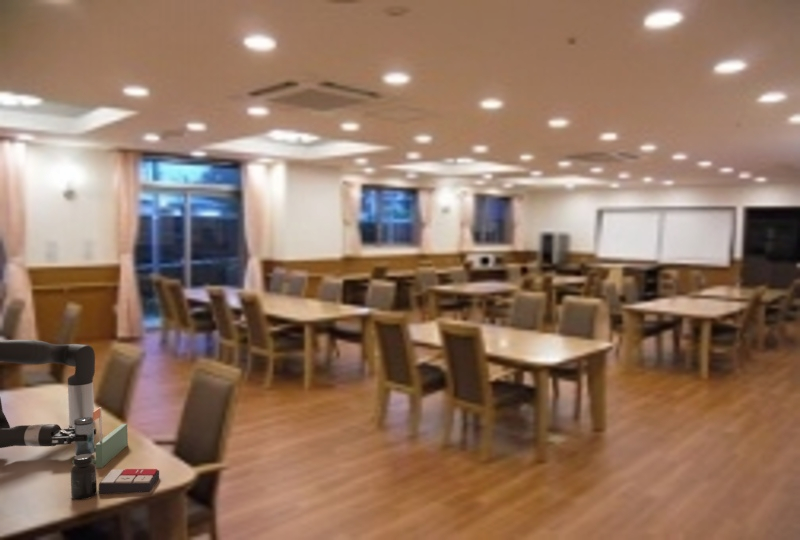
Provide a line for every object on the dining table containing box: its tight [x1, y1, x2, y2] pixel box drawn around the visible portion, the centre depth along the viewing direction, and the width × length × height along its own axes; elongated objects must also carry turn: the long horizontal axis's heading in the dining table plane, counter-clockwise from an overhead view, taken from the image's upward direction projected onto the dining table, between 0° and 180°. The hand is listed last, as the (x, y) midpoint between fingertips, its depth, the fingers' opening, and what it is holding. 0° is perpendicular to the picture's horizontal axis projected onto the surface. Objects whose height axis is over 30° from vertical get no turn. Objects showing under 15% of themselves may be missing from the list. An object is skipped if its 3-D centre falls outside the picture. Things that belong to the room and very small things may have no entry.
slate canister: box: [74, 417, 95, 456], centre depth 216 cm, size 6×6×12 cm
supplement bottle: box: [70, 454, 98, 501], centre depth 184 cm, size 7×7×12 cm
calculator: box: [98, 468, 160, 495], centre depth 191 cm, size 11×4×15 cm
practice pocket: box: [71, 407, 129, 469], centre depth 214 cm, size 25×12×20 cm, turn 3°
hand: (91, 434), depth 216 cm, fingers closed on slate canister, 6 cm apart
